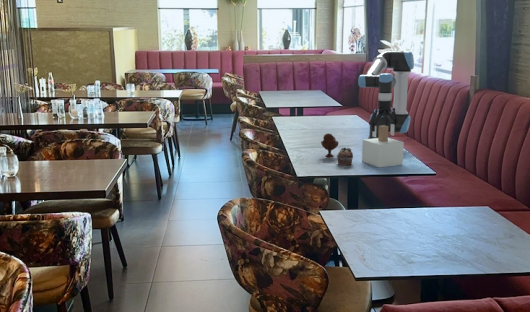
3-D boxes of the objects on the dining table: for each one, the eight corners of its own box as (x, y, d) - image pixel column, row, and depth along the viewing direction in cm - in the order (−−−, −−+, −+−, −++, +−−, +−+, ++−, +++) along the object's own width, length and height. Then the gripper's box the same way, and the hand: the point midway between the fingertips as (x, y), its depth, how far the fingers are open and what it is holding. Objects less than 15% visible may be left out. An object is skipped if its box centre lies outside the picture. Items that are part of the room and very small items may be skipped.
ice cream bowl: (337, 158, 340) (338, 135, 337) (319, 158, 342) (320, 134, 339) (338, 155, 350) (339, 132, 347) (321, 154, 352) (322, 131, 349)
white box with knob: (385, 158, 340) (386, 122, 335) (402, 164, 325) (404, 127, 320) (361, 161, 334) (363, 124, 329) (378, 167, 318) (380, 129, 313)
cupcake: (354, 162, 330) (354, 146, 328) (351, 166, 321) (351, 149, 319) (338, 161, 333) (338, 145, 331) (335, 165, 324) (335, 148, 322)
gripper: (397, 98, 329) (396, 133, 334) (363, 100, 319) (362, 136, 324) (405, 99, 322) (403, 135, 327) (371, 101, 313) (369, 138, 317)
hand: (383, 135), depth 326 cm, fingers open, 12 cm apart
